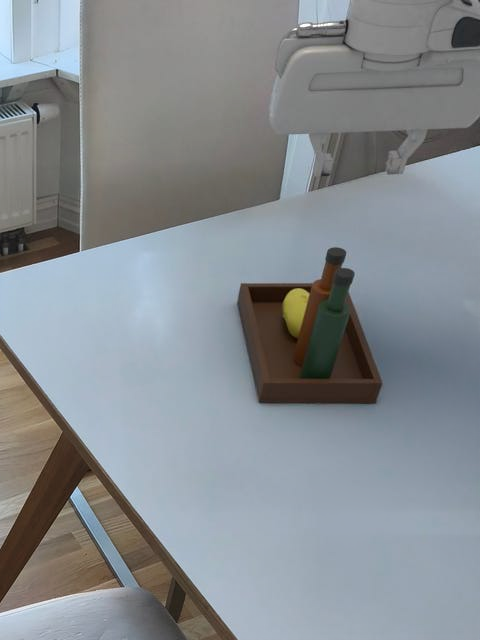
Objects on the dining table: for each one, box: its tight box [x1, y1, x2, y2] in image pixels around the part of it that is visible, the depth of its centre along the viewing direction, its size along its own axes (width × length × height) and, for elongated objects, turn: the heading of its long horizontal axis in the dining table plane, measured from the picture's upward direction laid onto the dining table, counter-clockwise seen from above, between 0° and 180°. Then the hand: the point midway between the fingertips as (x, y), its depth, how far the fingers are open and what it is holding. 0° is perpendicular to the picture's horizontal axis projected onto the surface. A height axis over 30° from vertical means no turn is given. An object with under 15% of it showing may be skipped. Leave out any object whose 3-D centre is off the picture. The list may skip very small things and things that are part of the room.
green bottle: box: [299, 267, 356, 379], centre depth 93 cm, size 3×3×13 cm
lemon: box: [282, 288, 309, 339], centre depth 103 cm, size 4×8×4 cm, turn 170°
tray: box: [236, 282, 384, 404], centre depth 102 cm, size 13×21×3 cm, turn 177°
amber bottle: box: [293, 246, 347, 366], centre depth 96 cm, size 3×3×13 cm
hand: (356, 173), depth 92 cm, fingers open, 6 cm apart
